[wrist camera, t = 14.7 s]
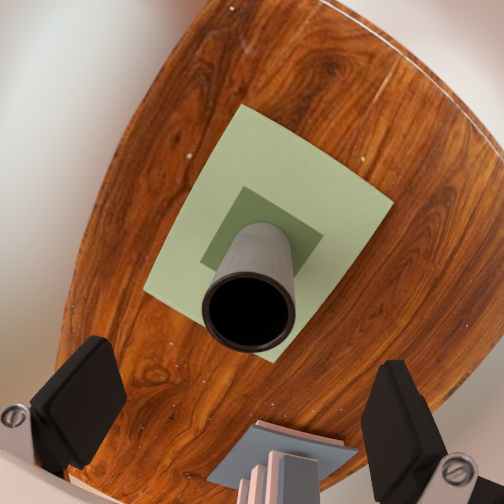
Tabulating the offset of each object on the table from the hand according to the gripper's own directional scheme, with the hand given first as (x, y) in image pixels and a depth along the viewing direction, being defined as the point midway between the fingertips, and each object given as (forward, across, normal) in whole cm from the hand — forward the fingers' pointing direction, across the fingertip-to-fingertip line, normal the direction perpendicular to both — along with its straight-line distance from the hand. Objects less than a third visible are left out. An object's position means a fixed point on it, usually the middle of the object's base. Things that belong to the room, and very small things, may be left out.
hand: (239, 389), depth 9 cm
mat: (+16, +1, 0) cm, 16 cm away
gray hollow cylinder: (+15, 0, 0) cm, 15 cm away
